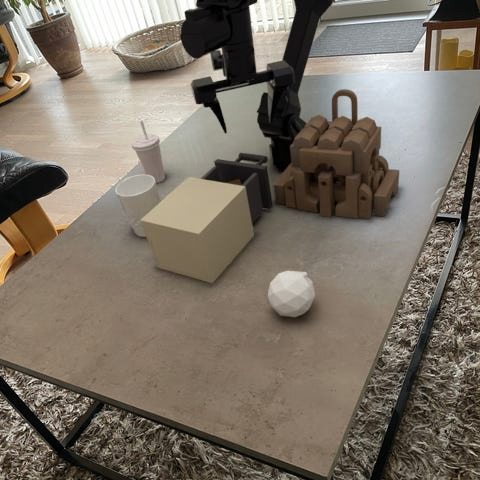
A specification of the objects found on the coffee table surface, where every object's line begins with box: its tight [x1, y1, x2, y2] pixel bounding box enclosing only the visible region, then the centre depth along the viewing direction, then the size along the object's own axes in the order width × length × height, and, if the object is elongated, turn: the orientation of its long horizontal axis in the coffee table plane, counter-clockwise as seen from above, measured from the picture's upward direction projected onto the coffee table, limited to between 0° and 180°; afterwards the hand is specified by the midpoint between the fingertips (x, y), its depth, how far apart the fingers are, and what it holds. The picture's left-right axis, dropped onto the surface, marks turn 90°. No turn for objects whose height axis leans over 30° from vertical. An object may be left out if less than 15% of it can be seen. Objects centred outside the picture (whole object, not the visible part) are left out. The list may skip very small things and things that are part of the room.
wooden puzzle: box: [273, 88, 400, 220], centre depth 91 cm, size 22×15×19 cm, turn 63°
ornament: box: [267, 270, 316, 318], centre depth 74 cm, size 7×7×8 cm
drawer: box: [200, 152, 274, 224], centre depth 94 cm, size 18×11×9 cm, turn 148°
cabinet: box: [140, 176, 255, 284], centre depth 88 cm, size 15×13×11 cm
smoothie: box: [131, 120, 166, 184], centre depth 110 cm, size 6×6×14 cm
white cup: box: [114, 173, 162, 238], centre depth 97 cm, size 8×8×10 cm
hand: (248, 127), depth 96 cm, fingers open, 9 cm apart
